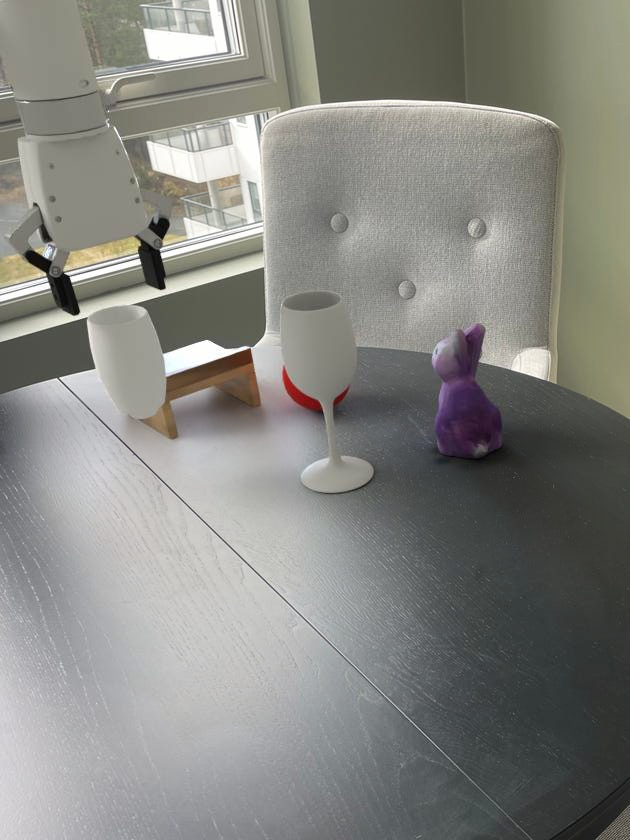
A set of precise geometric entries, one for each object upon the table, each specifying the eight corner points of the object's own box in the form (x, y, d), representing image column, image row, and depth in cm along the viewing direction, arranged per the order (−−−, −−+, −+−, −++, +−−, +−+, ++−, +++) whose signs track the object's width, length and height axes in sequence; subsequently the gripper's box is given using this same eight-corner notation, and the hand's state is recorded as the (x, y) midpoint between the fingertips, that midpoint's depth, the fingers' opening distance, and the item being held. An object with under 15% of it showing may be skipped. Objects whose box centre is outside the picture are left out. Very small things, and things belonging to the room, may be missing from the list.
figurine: (444, 421, 126) (437, 306, 117) (516, 433, 123) (514, 316, 114) (410, 452, 120) (399, 334, 111) (485, 467, 116) (480, 345, 107)
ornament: (305, 428, 126) (293, 354, 120) (277, 404, 132) (264, 333, 126) (366, 410, 130) (357, 337, 124) (336, 387, 136) (326, 317, 130)
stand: (126, 412, 132) (110, 355, 127) (215, 380, 140) (203, 325, 135) (170, 439, 125) (155, 380, 120) (261, 404, 133) (250, 347, 128)
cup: (206, 486, 115) (165, 313, 102) (153, 510, 111) (102, 333, 98) (174, 467, 119) (130, 298, 106) (121, 489, 115) (68, 317, 102)
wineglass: (383, 461, 118) (363, 288, 105) (360, 496, 112) (336, 316, 99) (316, 455, 120) (289, 285, 107) (290, 490, 113) (257, 313, 100)
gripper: (129, 97, 97) (170, 271, 108) (-45, 128, 88) (20, 314, 99) (166, 105, 93) (205, 285, 103) (-13, 138, 84) (51, 331, 94)
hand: (115, 299), depth 101 cm, fingers open, 9 cm apart
